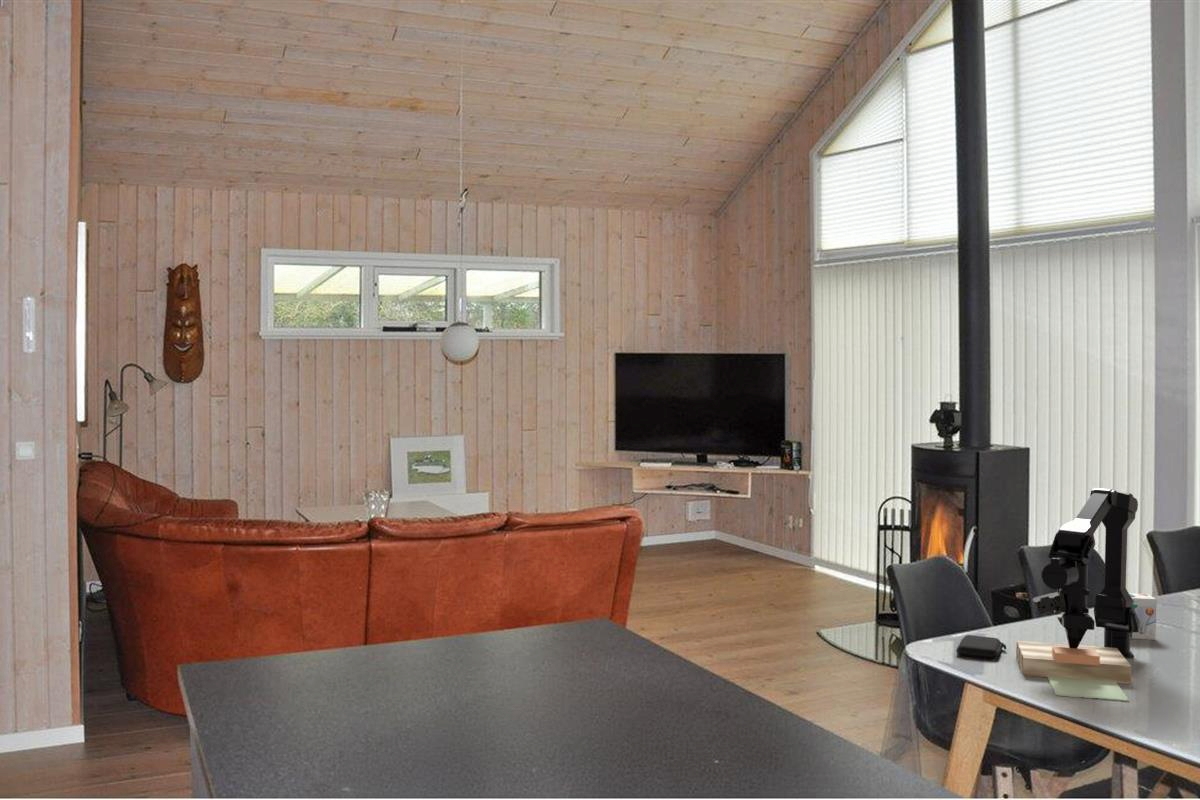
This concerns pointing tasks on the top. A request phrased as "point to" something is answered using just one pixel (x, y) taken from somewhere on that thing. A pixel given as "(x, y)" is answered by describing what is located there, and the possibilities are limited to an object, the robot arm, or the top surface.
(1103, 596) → the robot arm
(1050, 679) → the mat
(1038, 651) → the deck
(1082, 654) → the block
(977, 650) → the carrying case or bag
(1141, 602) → the light bulb box
